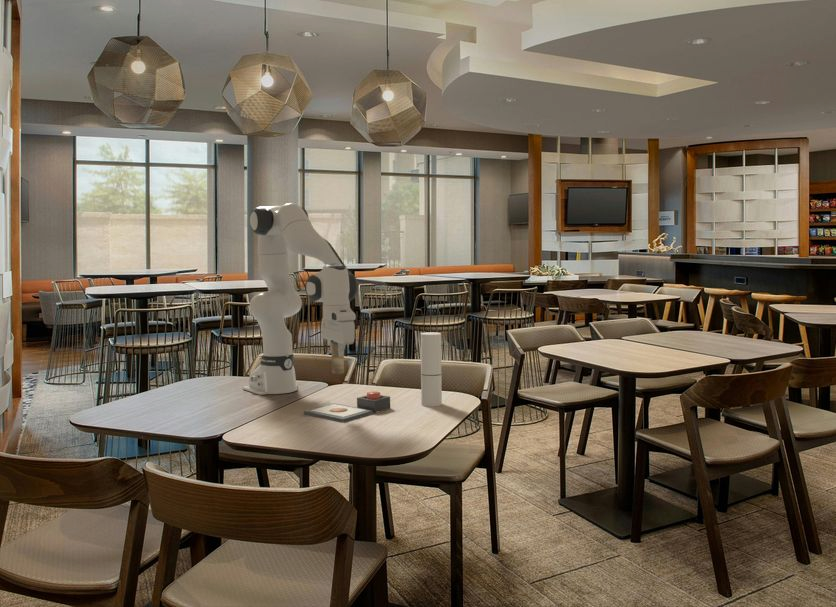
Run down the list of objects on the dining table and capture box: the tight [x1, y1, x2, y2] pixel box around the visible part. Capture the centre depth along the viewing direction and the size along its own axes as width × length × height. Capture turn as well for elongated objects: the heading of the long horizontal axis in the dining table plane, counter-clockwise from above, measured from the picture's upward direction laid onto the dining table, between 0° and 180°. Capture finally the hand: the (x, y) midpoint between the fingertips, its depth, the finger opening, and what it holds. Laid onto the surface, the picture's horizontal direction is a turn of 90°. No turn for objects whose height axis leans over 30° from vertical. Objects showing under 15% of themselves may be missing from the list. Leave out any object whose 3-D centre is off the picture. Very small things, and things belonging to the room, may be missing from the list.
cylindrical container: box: [420, 331, 443, 407], centre depth 232 cm, size 7×7×25 cm
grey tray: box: [303, 402, 374, 423], centre depth 221 cm, size 18×14×1 cm
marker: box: [330, 340, 345, 375], centre depth 219 cm, size 4×4×11 cm
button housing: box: [356, 394, 391, 414], centre depth 227 cm, size 8×8×4 cm
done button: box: [366, 391, 381, 400], centre depth 227 cm, size 5×5×3 cm
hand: (337, 355), depth 219 cm, fingers closed on marker, 4 cm apart
